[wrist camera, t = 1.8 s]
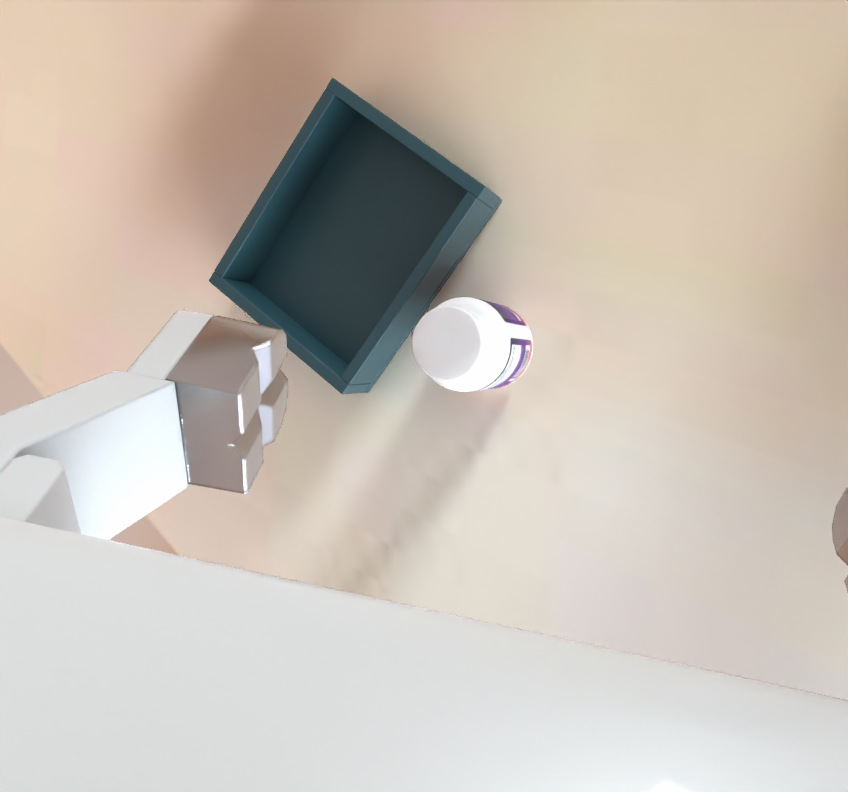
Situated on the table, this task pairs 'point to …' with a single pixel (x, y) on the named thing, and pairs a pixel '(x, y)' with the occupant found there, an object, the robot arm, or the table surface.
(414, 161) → the tote
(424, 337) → the pill bottle
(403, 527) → the table surface
